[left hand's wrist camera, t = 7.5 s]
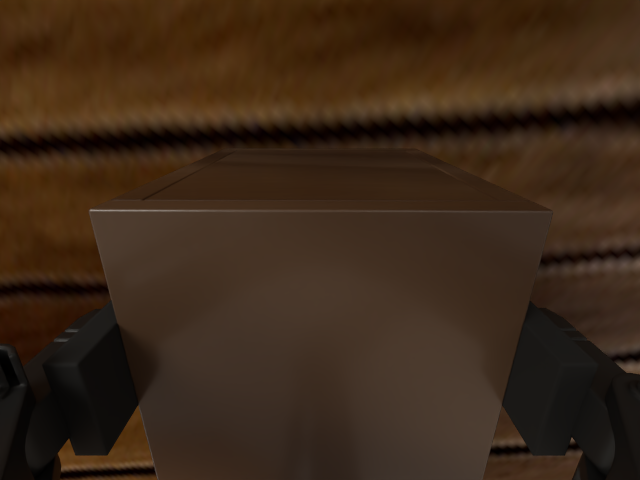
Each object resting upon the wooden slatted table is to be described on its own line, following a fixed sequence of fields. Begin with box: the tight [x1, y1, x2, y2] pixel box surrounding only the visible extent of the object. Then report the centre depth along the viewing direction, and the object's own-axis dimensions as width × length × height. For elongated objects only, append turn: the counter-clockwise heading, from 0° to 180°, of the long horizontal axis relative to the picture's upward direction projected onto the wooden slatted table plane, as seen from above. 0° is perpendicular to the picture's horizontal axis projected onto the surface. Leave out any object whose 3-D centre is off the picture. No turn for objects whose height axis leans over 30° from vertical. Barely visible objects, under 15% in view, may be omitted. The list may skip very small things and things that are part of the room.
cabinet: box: [89, 148, 553, 480], centre depth 16 cm, size 17×10×11 cm, turn 0°
